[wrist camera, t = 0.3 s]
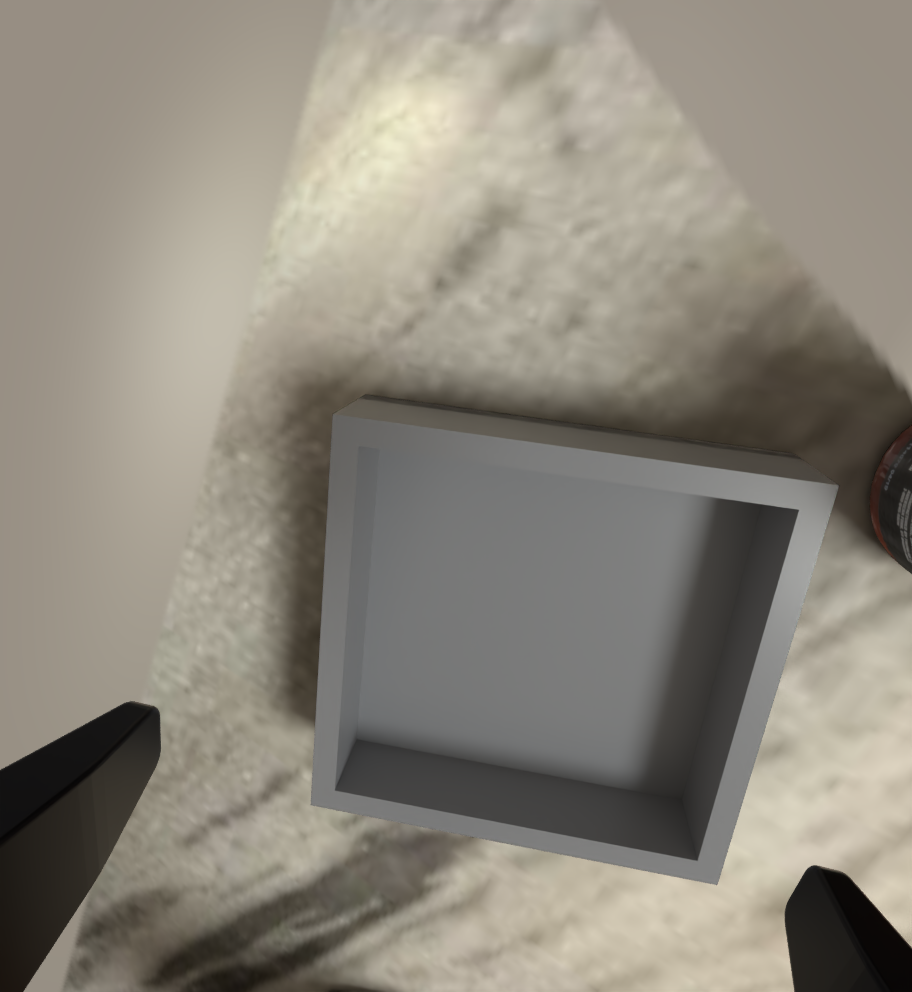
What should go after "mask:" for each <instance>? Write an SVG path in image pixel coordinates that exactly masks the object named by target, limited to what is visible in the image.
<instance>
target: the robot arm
mask: <svg viewBox="0 0 912 992" xmlns="http://www.w3.org/2000/svg"><path fill="white" fill-rule="evenodd" d="M160 752H161V736H160V713H159V710H158V709H157V708H156V707H154V706H151V705H147V704H143V703H139V702H134V701H130V702H126V703H124V704H122V705H120V706H118V707H116V708H114V709H112V710H111V711H109V712H107V713H105V714H103V715H102V716H99V717H98V718H96V719H94V720H92V721H90V722H88V723H86V724H85V725H83V726H81V727H79V728H77V729H75V730H74V731H72V732H70V733H68V734H66V735H64V736H62V737H61V738H59V739H57V740H55V741H53V742H51V743H49V744H48V745H46V746H44V747H42V748H40V749H38V750H36V751H35V752H33V753H31V754H29V755H27V756H25V757H23V758H22V759H20V760H18V761H16V762H14V763H12V764H11V765H9V766H7V767H5V768H3V769H1V770H0V992H23V991H24V990H25V988H26V987H27V985H28V984H29V982H30V981H31V979H32V977H33V976H34V974H35V973H36V971H37V970H38V968H39V967H40V965H41V964H42V962H43V961H44V959H45V958H46V956H47V955H48V953H49V952H50V950H51V949H52V947H53V945H54V944H55V942H56V941H57V939H58V938H59V936H60V935H61V933H62V932H63V930H64V928H65V927H66V925H67V924H68V922H69V921H70V919H71V918H72V916H73V915H74V913H75V912H76V910H77V909H78V907H79V905H80V904H81V903H82V901H83V899H84V898H85V896H86V895H87V893H88V892H89V890H90V889H91V887H92V885H93V884H94V882H95V881H96V879H97V877H98V876H99V874H100V872H101V871H102V869H103V867H104V865H105V863H106V861H107V860H108V858H109V856H110V854H111V852H112V850H113V848H114V846H115V845H116V843H117V841H118V839H119V837H120V835H121V833H122V831H123V829H124V827H125V825H126V823H127V822H128V820H129V818H130V816H131V814H132V812H133V810H134V808H135V806H136V804H137V802H138V800H139V799H140V797H141V795H142V793H143V791H144V789H145V787H146V785H147V783H148V781H149V779H150V777H151V776H152V774H153V772H154V770H155V768H156V766H157V763H158V760H159V757H160ZM785 927H786V934H787V942H788V949H789V956H790V963H791V971H792V978H793V985H794V992H912V947H911V946H910V945H909V944H908V943H907V942H906V941H905V939H904V938H903V937H902V936H901V935H900V934H899V933H898V932H897V930H896V929H895V928H894V927H893V926H892V925H891V924H890V922H889V921H888V920H887V919H886V918H885V917H884V916H883V915H882V913H881V912H880V911H879V910H878V909H877V908H876V907H875V905H874V904H873V903H872V902H871V901H870V900H869V899H868V898H867V896H866V895H865V894H864V893H863V892H862V891H861V890H860V888H859V887H858V886H857V885H856V884H855V883H854V882H853V881H852V879H851V878H850V877H849V876H847V875H846V874H845V873H843V872H841V871H838V870H834V869H830V868H825V867H821V866H817V865H813V866H811V867H809V868H808V869H807V870H806V871H805V873H804V875H803V876H802V878H801V880H800V881H799V883H798V885H797V887H796V888H795V890H794V892H793V893H792V895H791V897H790V899H789V900H788V902H787V905H786V909H785Z"/></svg>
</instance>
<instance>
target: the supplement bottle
mask: <svg viewBox="0 0 912 992" xmlns="http://www.w3.org/2000/svg"><path fill="white" fill-rule="evenodd" d="M870 513H871V519H872V522H873V527H874V530H875V533H876V535H877V537H878V539H879V540H880V542H881V544H882V545H883V546H884V548H885V549H886V550H887V552H888V553H889V554H890V555H891V557H893V558H894V559H895V560H896V561H897V562H898V563H899V564H900V565H901V566H903V567H904V568H905V569H906V570H907V571H909V572H910V573H911V574H912V425H911V426H910V427H909V428H907V429H906V430H905V431H903V432H902V433H901V435H900V436H899V437H898V438H897V439H896V440H895V441H894V442H893V443H892V445H891V446H890V447H889V449H888V450H887V451H886V453H885V454H884V456H883V458H882V460H881V462H880V464H879V467H878V469H877V471H876V473H875V476H874V479H873V482H872V487H871V494H870Z"/></svg>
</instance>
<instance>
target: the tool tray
mask: <svg viewBox="0 0 912 992" xmlns="http://www.w3.org/2000/svg"><path fill="white" fill-rule="evenodd" d="M838 488H839V485H838V484H836V483H835V482H834V481H832V480H831V479H829V478H828V477H826V476H825V475H824V474H822V473H821V472H819V471H818V470H816V469H815V468H814V467H812V466H811V465H809V464H808V463H806V462H805V461H803V460H802V459H801V458H799V457H798V456H796V455H795V454H793V453H786V452H779V451H771V450H764V449H757V448H750V447H742V446H735V445H728V444H721V443H713V442H706V441H699V440H692V439H684V438H677V437H670V436H662V435H655V434H648V433H641V432H633V431H626V430H619V429H612V428H604V427H597V426H590V425H583V424H575V423H568V422H561V421H553V420H546V419H539V418H532V417H524V416H517V415H510V414H503V413H495V412H488V411H481V410H474V409H466V408H459V407H452V406H444V405H437V404H430V403H423V402H415V401H408V400H401V399H394V398H386V397H379V396H372V395H364V396H362V397H361V398H359V399H357V400H356V401H354V402H352V403H350V404H349V405H347V406H345V407H344V408H342V409H340V410H339V411H337V412H335V413H334V414H333V418H332V436H331V453H330V471H329V489H328V507H327V525H326V542H325V560H324V578H323V596H322V613H321V631H320V649H319V667H318V684H317V702H316V720H315V738H314V756H313V773H312V791H311V805H313V806H318V807H323V808H328V809H333V810H338V811H343V812H348V813H353V814H358V815H364V816H369V817H374V818H379V819H384V820H389V821H394V822H399V823H404V824H409V825H414V826H420V827H425V828H430V829H435V830H440V831H445V832H450V833H455V834H460V835H465V836H470V837H475V838H481V839H486V840H491V841H496V842H501V843H506V844H511V845H516V846H521V847H526V848H531V849H536V850H542V851H547V852H552V853H557V854H562V855H567V856H572V857H577V858H582V859H587V860H592V861H597V862H603V863H608V864H613V865H618V866H623V867H628V868H633V869H638V870H643V871H648V872H653V873H658V874H664V875H669V876H674V877H679V878H684V879H689V880H694V881H699V882H704V883H709V884H714V885H717V884H718V881H719V878H720V875H721V871H722V868H723V865H724V861H725V858H726V855H727V852H728V848H729V845H730V842H731V839H732V835H733V832H734V829H735V825H736V822H737V819H738V816H739V812H740V809H741V806H742V803H743V799H744V796H745V793H746V789H747V786H748V783H749V780H750V776H751V773H752V770H753V767H754V763H755V760H756V757H757V753H758V750H759V747H760V744H761V740H762V737H763V734H764V731H765V727H766V724H767V721H768V717H769V714H770V711H771V708H772V704H773V701H774V698H775V695H776V691H777V688H778V685H779V681H780V678H781V675H782V672H783V668H784V665H785V662H786V659H787V655H788V652H789V649H790V645H791V642H792V639H793V636H794V632H795V629H796V626H797V622H798V619H799V616H800V613H801V609H802V606H803V603H804V600H805V596H806V593H807V590H808V586H809V583H810V580H811V577H812V573H813V570H814V567H815V564H816V560H817V557H818V554H819V550H820V547H821V544H822V541H823V537H824V534H825V531H826V528H827V524H828V521H829V518H830V514H831V511H832V508H833V505H834V501H835V498H836V495H837V492H838Z"/></svg>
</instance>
